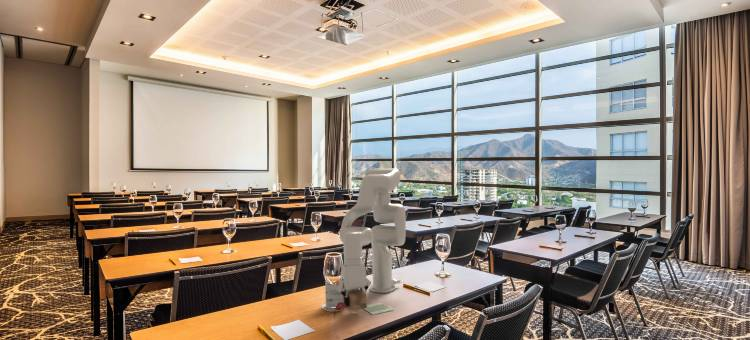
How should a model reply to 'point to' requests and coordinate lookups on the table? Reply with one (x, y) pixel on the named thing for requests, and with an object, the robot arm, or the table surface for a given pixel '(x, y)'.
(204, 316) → the table surface
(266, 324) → the table surface
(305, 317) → the table surface
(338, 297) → the ink box
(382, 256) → the robot arm
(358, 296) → the walnut brick
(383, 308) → the mat
